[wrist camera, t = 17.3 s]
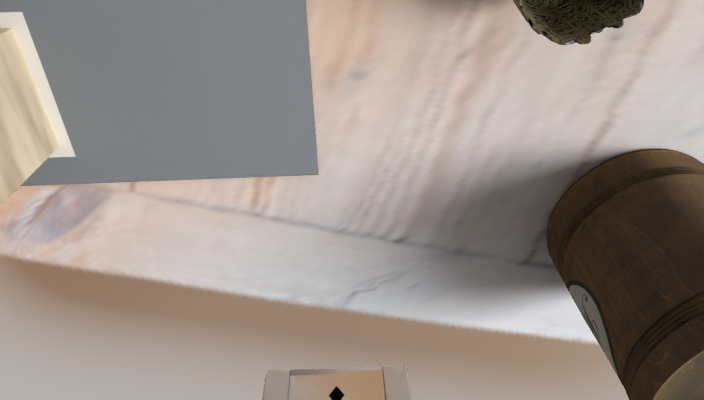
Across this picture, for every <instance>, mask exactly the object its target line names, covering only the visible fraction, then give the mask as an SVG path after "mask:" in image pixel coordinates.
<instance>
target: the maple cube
mask: <svg viewBox="0 0 704 400" xmlns="http://www.w3.org/2000/svg"><path fill="white" fill-rule="evenodd" d="M58 147H59V143H58V141H57V138H56V136H55V133H54V130H53V128H52V125H51V123H50V120H49V118H48V115H47V113H46V110H45V108H44V105H43V103H42V100H41V98H40V95H39V93H38V90H37V88H36V85H35V83H34V80H33V78H32V75H31V73H30V70H29V68H28V65H27V63H26V60H25V58H24V55H23V53H22V50H21V48H20V45H19V43H18V40H17V38H16V35H15V33H14V30H13V28H3V29H0V206H1V205H2V204H3V203H4V202H5V201H6V200H7V199H8V198H9V197H10V196H11V195H12V194H13V193H14V192H15V191H16V190H17V189H18V188H19V187H20V186H21V185H22V184H23V183H24V182H25V181H26V180H27V178H28V177H29V176H30V175H31V174H32V173H33V172H34V171H35V170H36V169H37V168H38V167H39V166H40V165H41V164H42V163H43V162H44V161H45V160H46V159H47V158H48V157H49V156H50V155H51V154H52V153H53V152H54V151H55V150H56V149H57V148H58Z"/></svg>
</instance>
